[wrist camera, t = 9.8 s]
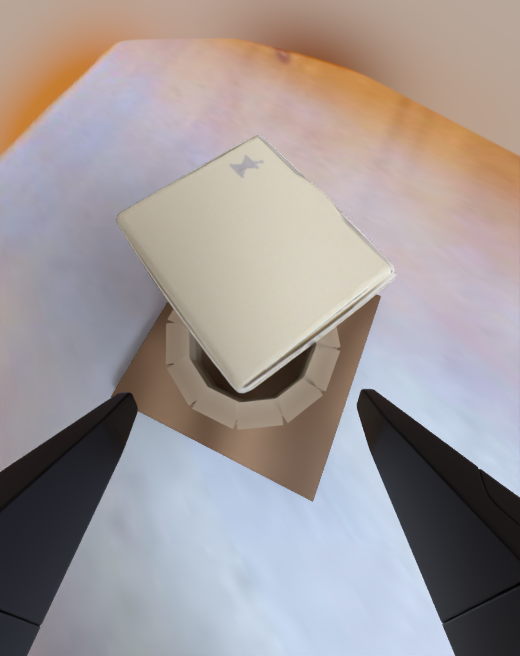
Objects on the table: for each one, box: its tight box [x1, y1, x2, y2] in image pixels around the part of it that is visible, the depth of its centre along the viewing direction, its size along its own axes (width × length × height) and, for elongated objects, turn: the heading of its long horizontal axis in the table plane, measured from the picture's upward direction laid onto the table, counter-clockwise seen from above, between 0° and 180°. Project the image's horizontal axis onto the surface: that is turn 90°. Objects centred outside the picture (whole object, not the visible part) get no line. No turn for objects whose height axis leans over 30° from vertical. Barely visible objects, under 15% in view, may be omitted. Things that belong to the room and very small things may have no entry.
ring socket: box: [111, 295, 381, 502], centre depth 16 cm, size 16×16×4 cm
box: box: [116, 135, 396, 393], centre depth 11 cm, size 5×4×13 cm
